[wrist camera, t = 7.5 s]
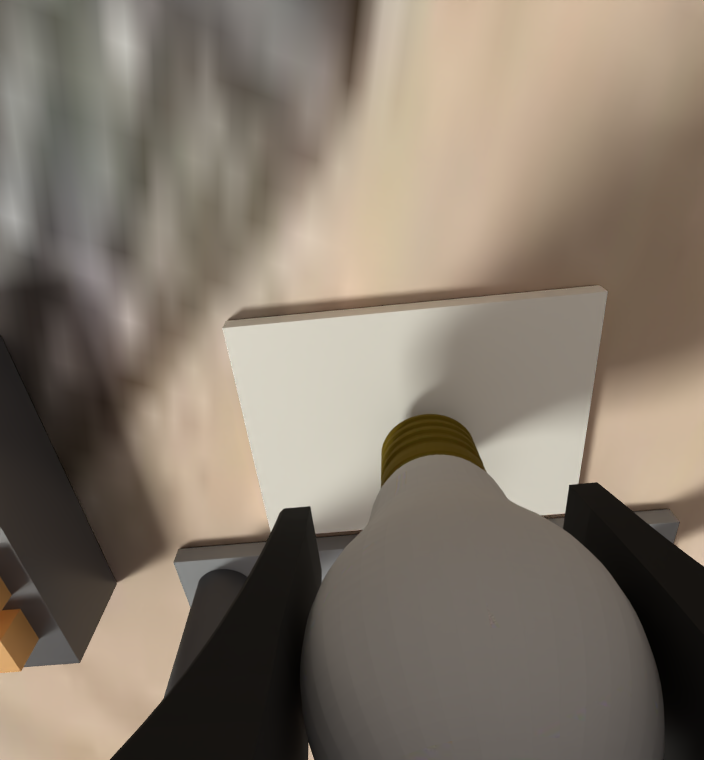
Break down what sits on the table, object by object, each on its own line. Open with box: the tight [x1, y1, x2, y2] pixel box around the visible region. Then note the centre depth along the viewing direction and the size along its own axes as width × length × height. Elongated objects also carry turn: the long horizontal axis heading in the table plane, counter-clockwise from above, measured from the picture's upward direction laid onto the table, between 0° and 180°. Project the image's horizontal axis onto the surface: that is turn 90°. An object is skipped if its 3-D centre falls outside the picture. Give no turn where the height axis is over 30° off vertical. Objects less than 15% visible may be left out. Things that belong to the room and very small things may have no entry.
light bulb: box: [300, 414, 665, 760], centre depth 11 cm, size 6×6×10 cm
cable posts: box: [164, 509, 680, 698], centre depth 15 cm, size 3×17×8 cm, turn 96°
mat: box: [222, 285, 608, 534], centre depth 15 cm, size 8×10×1 cm
